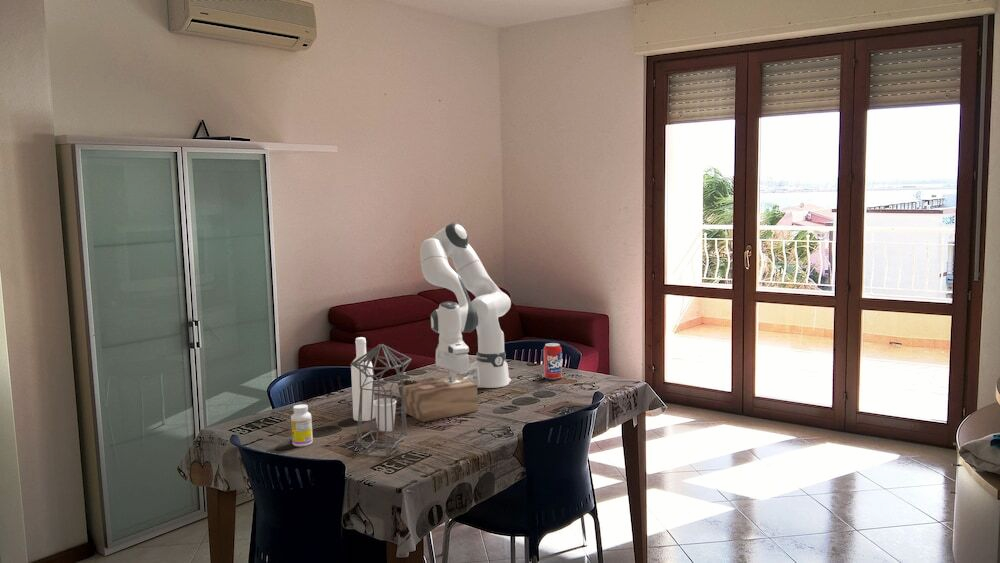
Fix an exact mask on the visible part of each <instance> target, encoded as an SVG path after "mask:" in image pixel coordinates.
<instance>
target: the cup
mask: <svg viewBox="0 0 1000 563" xmlns="http://www.w3.org/2000/svg"><path fill="white" fill-rule="evenodd" d="M417 383H418V382H417V380H412V381H411V380H410V379H405V380H403V386H405V385H411V384H417ZM400 385H401V383H397V387H398V386H400ZM397 389H398V392H399V396H400V397H401V386H400V387H398V388H397Z"/></svg>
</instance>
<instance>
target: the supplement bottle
mask: <svg viewBox="0 0 1000 563" xmlns="http://www.w3.org/2000/svg"><path fill="white" fill-rule="evenodd" d="M308 406H309V405H307V404H305V403H304V404H295V405H293V407H292V409H293V413H292V414H291V416H290V425H291V427H290V428H291V443H292V445H293V446H295V447H299V448H300V447H308V446H310V445H311V444H312V443H313V440H314V437H313V422H312V413H310V412H309V407H308Z"/></svg>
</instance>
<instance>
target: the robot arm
mask: <svg viewBox="0 0 1000 563" xmlns="http://www.w3.org/2000/svg"><path fill="white" fill-rule="evenodd" d="M449 258H451V261H452V264H453V266H454V268H455V270H456V271H455V270H454V269H453V268H452V267H451V266H450V264H449V260H448V259H449ZM419 259H420V268H421V273H422V276H423V278H424V279H425V280H426V281H427V282H428V283H429V284H431V285H433V286H436V287H441V288H445V289H447V290H449V291H451V292H453V293H454V295H455V297H456V299H457V302H458V303H457V302H456V301H455V302H454V301H443V302H441V303H440V304H439V306H438V308H437V309H434V310H433V312H431V314H430V315H429V316H430V329H431V330H432V331H433V332H435V333H436V334H439V336H438V344H437V347H436V348H435V364H436V366H438V367H441V368H443V369H445V371H446V375H447V378H448V380H449V381H451V382H455V381H456V377H457V375H458V374H459V375H463V374H464V375H466V374H467V376H465V377H463V378H462V379H463V380H466V381H468V382H471V383H474V384H476V385H477V389H478V388H484V389H494V388H501V387H502V388H503V387H506V386H508V385H510V382H512V379H511V378H510V376H509V374H510V373H509V366H508V363H507V361H506V359H507V358H506V355H507V354H506V350H505V334H504V331H503V330H502V329H501V326H500V322H499V318H500V317H503V316H505V315H506V313H508V312H509V310H510V309H511V305H512V302H511V297H509V295H508V294H506V292H504V291H502V290H501V289H500V287H499V286H498V285H497V284H496V283H495V282H494V280H493V279H492V278H491V277H490V275H489V273H488V272H487V270H486V268H485V267H484V265H483V262H482V260H481V259H480V258H479V256H478V254H477V253H476V251H475V249H474V248H473V247H472V246H471V245H470V244H469V237H468V231H467V230H466V228H465V227H464V226H463V225H462V224H460V223H458V222H452V223H449V224H448V225H446V226H445V227H443V228H442V229H440V230H438V231H437V232H436V233H434V235H432V236H431V237H430V238H427V239H425V240H424V241H423V242H421V244H420V248H419ZM468 292H470V293H471V294H472V295H473V296H474V297H475V298H474V299H473V300H471V298H470V296H469V293H468ZM474 330H476V334H477V347H478V348H477V350H478V351H476V352H475V355H476V358H475V361H474V362H473V363H472V364H470V362H469V361H470V360H469V359H470V358H469V354H468V353H469V352H470V348H469V346H468V345H467V344H466V343H465V341H464V340H463V334H462V333H472V332H474Z"/></svg>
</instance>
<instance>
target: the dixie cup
mask: <svg viewBox="0 0 1000 563" xmlns="http://www.w3.org/2000/svg"><path fill="white" fill-rule="evenodd" d="M397 402H398V401H397V400H396V399H395V398H392V404H393V420H394V422H395V420H396V408H397ZM373 406H374V412H375V418H374V419H375V421H376V428H377V430H378V399H374V401H373ZM386 417H387V431H391V432H392V415H391V399H390V397H386ZM379 430H381V431H385V402H384V398H380V399H379Z"/></svg>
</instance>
